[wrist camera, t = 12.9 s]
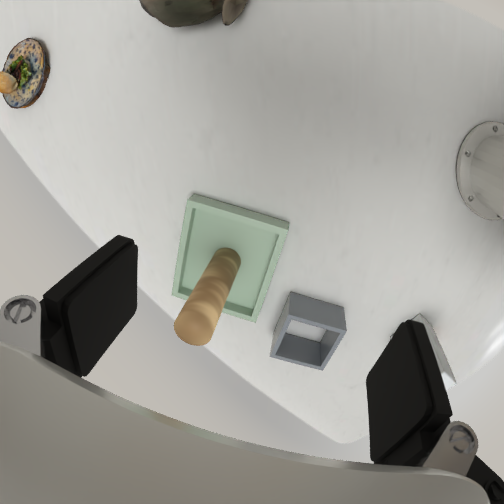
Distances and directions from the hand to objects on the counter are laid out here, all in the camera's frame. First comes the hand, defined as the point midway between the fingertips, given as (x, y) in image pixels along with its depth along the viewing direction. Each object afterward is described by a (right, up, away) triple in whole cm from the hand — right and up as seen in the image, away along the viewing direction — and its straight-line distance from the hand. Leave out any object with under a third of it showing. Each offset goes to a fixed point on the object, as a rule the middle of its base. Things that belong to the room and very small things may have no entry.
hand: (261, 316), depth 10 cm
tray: (-3, +1, +30) cm, 31 cm away
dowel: (-3, +1, +30) cm, 30 cm away
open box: (+7, -8, +33) cm, 34 cm away
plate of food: (-35, +30, +23) cm, 52 cm away
